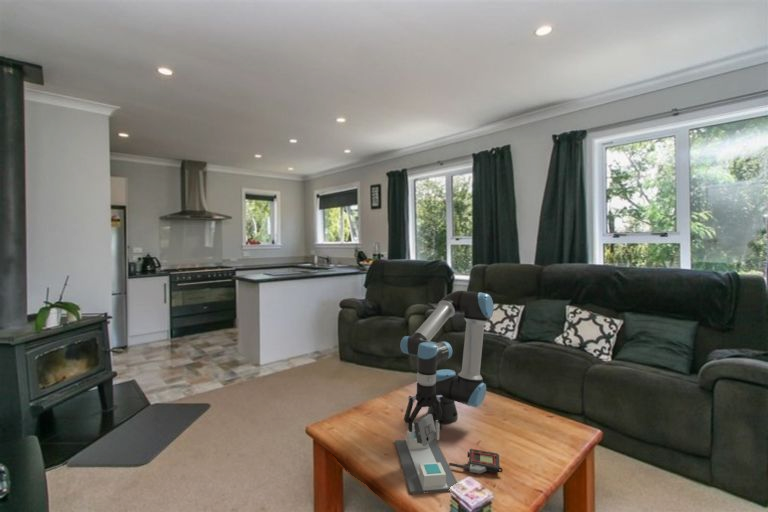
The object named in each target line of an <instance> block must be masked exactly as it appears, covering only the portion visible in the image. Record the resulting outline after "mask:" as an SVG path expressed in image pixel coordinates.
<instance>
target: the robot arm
mask: <svg viewBox="0 0 768 512" xmlns="http://www.w3.org/2000/svg"><path fill="white" fill-rule="evenodd" d="M456 314H461V315H462V314H463V319H464V320H465V322H466V323H465V332H464V345H463V352H462V353H463V354H462V363H461V364H462V365H461V371H460V372H458V373H457V375H456V371H455V370H452V369H447V368H445V369H438V370H437V366H438V365H439V364H441V363H443V362H447V360H448V359H450V358H451V357H452V355H453V348H452V346H451V344H450V343H449V342H447V341H439V342H435V341H432V339H433V338H434V337H435V336H436V335H437V333H438V332H439V331H440V329H441V328H442V327H443V326H444V325H445V323H447V321H448V319H449V318H452V317H454V316H455V315H456ZM493 314H494V302H493V298H492V296H491V295H490V294H488V293H484V292H478V291H468V290H455V291H453V292H451V293H449V294H447V295H445V296H444V297H442V299H441V300H439V302H438V304H437V307H436V308H435V309H434V310H433V312H431V314H430V315H429V316H428V317H427V318H426V320H424V322H423V323H422V324H421V325H420V327H419V328H418V329H417V330H416V331H415V332H414V333H412V335H411V336H410V335H407V336H406V335H405V336H403V337H402V339H401V340H400V345H399V346H400V347H399V348H400V350H401V352H402V353H403V354H407V355H408V356H413V357H417V372H416V381H417V383H416V394H415V396H411V395H409V396H408V404H407V405H406V406H407V407H406V410H405V413H404V417H403V420H404V422H405V423H406V424H408V426H407V427H408V431H409V432H411V440H412V441H414V431H415V428H414V422H415V421H416V418H417V416H418V415H419V413H420V411H421V410H422V409H423V408H428V409H427V415H429V414H432V416H433V421H434V423H435V431H436V438H435V439H436V441H439V440H440V431H442V430H443V429H442V428H443V424H446V425H448V424H452V422H453V423H456V421H457V420H458V416H459V415H458V414H459V413H458V410H457V406H456V403H455V402H457V403H459V404H464V405H466V406H467V407H474V408H478V407H480V406H481V404H482V403H483V402H484V400H485V397H486V393H487V385H486V383H484V382H483V379H484V378H483V377H482V375H481V365H482V363H481V362H482V355H483V354H482V351H483V342H484V340H483V339H484V332H485V331H484V330H485V324H487V323H488V321H489V319H491V318H492V317H493ZM416 401H417V402H416ZM415 402H416V404H415V407H414V409H413V405H414V403H415ZM412 409H413V410H412Z"/></svg>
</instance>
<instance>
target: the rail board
mask: <svg viewBox="0 0 768 512" xmlns="http://www.w3.org/2000/svg"><path fill="white" fill-rule="evenodd" d="M418 433H419V432H418ZM394 444H395V447H396V451H397V453H398V457H399V459H400V460H399V461H400V463H401V466H402V470H403V474H404V478H405V480H406V484H407V486H408V490H410V491H409V493H420V494H427V493H426V492H433V493H441V492H440V491H446V492H449V491H448V490H449V489H450V487H451V486H453V485H454V484H456V483H458V481H457V479H456V477H455V475H454V472H453V471H452V469H451V466H450V465H449V463H448V461H447V459H446V457H445V454H444V453H443V452H442V449H441V448H440V446H439V443H438V440H437V438H435V439H434V440H432V441H431V442H430V443H429V444H427V445H426V446H423V445H422V444H421V443H417V438H416V433H415V430H414V441H412V440H411V432H409V430H407V431H406V438H405V439H397V440H394ZM424 492H425V493H424Z"/></svg>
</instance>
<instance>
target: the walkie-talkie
mask: <svg viewBox="0 0 768 512" xmlns="http://www.w3.org/2000/svg"><path fill="white" fill-rule="evenodd" d="M467 458H469V459H468V460H467V464H468V465H463V464H459V463H453V462H449V463H448V465H449V467H455V468H461V469H465V470H469V473H474V474H478V475H479V474H481V475H482V473H485V472H490V473H491V472H493V473H496V474H497V473H503V468H502V467H500V454H499V453H498V452H497V453H496V452H493V451H487V450H480V449H474V448H470V449H469V451H467Z"/></svg>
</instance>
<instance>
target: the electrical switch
mask: <svg viewBox="0 0 768 512" xmlns="http://www.w3.org/2000/svg"><path fill="white" fill-rule="evenodd" d="M413 423H414V431H415V433H416V438H417V443H421V444H422V445H423V446H426V445H427V444H429V443H430V442H431V441H432V440H434V439H437V438H436V425H435V421H433V416H432V414H429V415H428V414H427V415H423V416H422V417H419V418H418V419H417V420H414V422H413ZM418 432H419V433H418Z"/></svg>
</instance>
